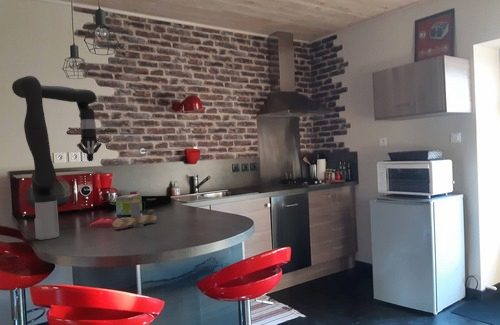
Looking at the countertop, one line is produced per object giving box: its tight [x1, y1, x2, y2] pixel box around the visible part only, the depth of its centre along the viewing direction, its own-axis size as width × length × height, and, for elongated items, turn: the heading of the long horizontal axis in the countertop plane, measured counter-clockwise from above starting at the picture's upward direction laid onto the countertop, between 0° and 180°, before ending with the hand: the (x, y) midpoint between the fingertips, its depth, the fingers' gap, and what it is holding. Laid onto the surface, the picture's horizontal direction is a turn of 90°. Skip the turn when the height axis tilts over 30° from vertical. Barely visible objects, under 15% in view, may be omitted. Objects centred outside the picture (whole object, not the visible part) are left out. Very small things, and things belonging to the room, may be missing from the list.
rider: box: [130, 201, 141, 218], centre depth 201 cm, size 3×4×9 cm
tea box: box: [115, 193, 143, 220], centre depth 218 cm, size 15×10×15 cm
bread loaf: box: [112, 209, 157, 229], centre depth 200 cm, size 22×7×7 cm, turn 136°
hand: (90, 161), depth 208 cm, fingers closed
